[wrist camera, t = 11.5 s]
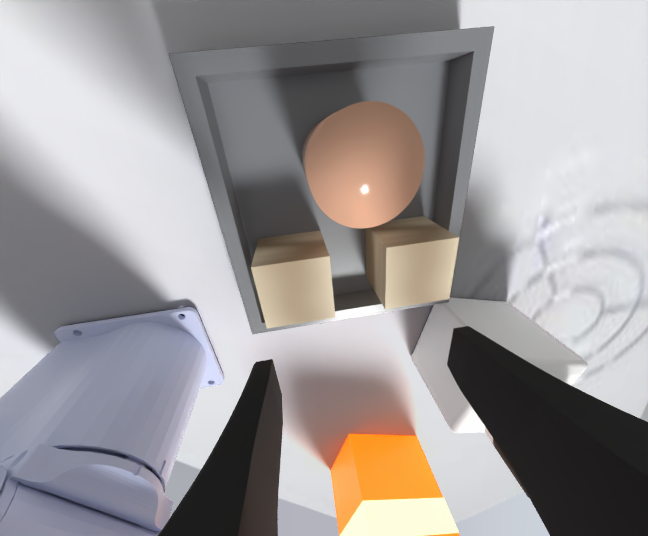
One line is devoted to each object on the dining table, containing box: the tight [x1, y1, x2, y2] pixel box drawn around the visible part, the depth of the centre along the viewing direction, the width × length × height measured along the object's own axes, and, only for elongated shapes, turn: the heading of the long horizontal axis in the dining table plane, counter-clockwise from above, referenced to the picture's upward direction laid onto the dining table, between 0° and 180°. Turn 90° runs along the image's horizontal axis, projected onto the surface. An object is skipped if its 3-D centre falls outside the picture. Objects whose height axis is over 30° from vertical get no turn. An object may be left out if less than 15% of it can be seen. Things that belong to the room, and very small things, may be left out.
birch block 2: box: [366, 216, 459, 309], centre depth 16 cm, size 4×4×4 cm
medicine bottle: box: [411, 297, 588, 497], centre depth 18 cm, size 7×7×12 cm
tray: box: [169, 26, 494, 334], centre depth 16 cm, size 14×15×2 cm
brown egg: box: [302, 101, 425, 228], centre depth 12 cm, size 4×4×6 cm
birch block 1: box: [251, 230, 335, 329], centre depth 16 cm, size 4×4×4 cm
